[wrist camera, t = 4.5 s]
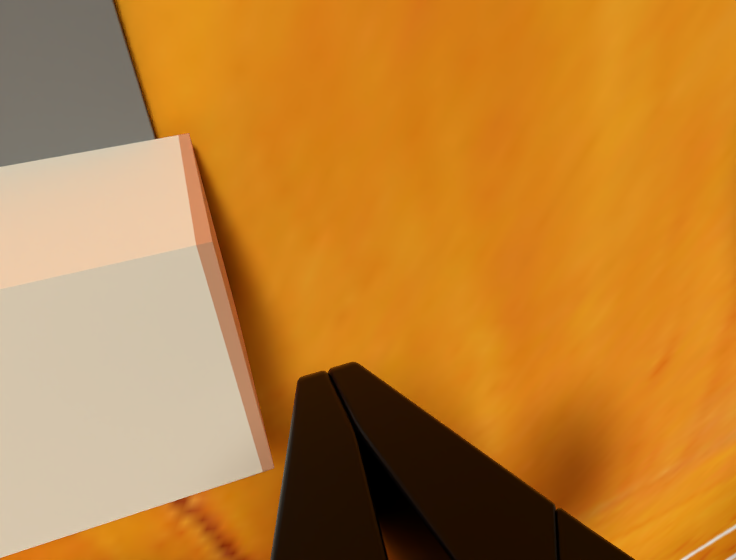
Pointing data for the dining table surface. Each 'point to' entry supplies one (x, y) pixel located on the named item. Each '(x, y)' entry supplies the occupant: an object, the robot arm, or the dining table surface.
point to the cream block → (116, 343)
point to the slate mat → (66, 81)
